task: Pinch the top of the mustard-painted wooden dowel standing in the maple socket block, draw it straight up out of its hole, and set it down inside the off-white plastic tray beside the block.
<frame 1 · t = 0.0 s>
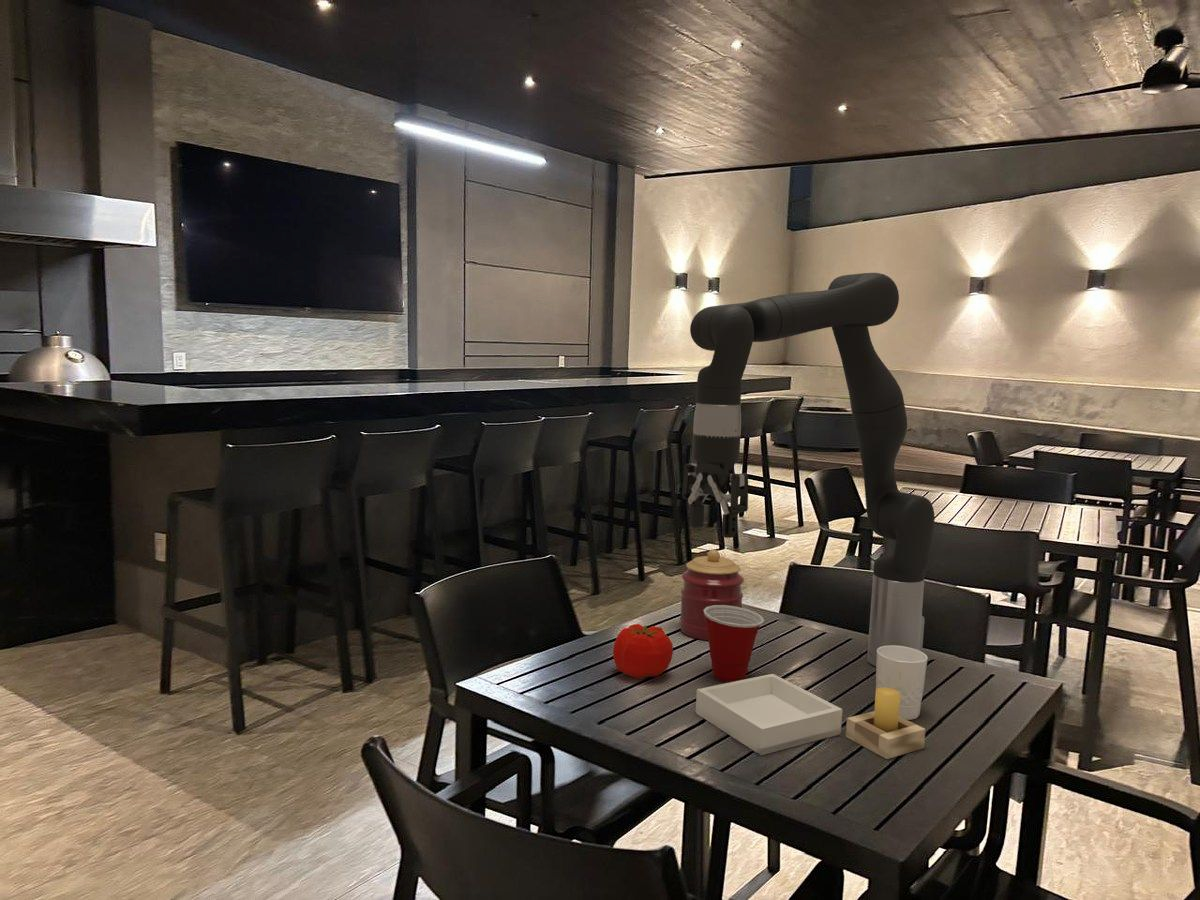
hand: (712, 531, 134), 29 cm above the table, tool pointing down, fingers open, 8 cm apart
plastic cup: (730, 677, 150), on the table
socket block: (884, 742, 126), on the table
canister: (710, 632, 175), on the table
dowel: (886, 717, 125), in the socket block
tray: (766, 723, 131), on the table
white cup: (897, 712, 137), on the table
tomato: (641, 675, 150), on the table
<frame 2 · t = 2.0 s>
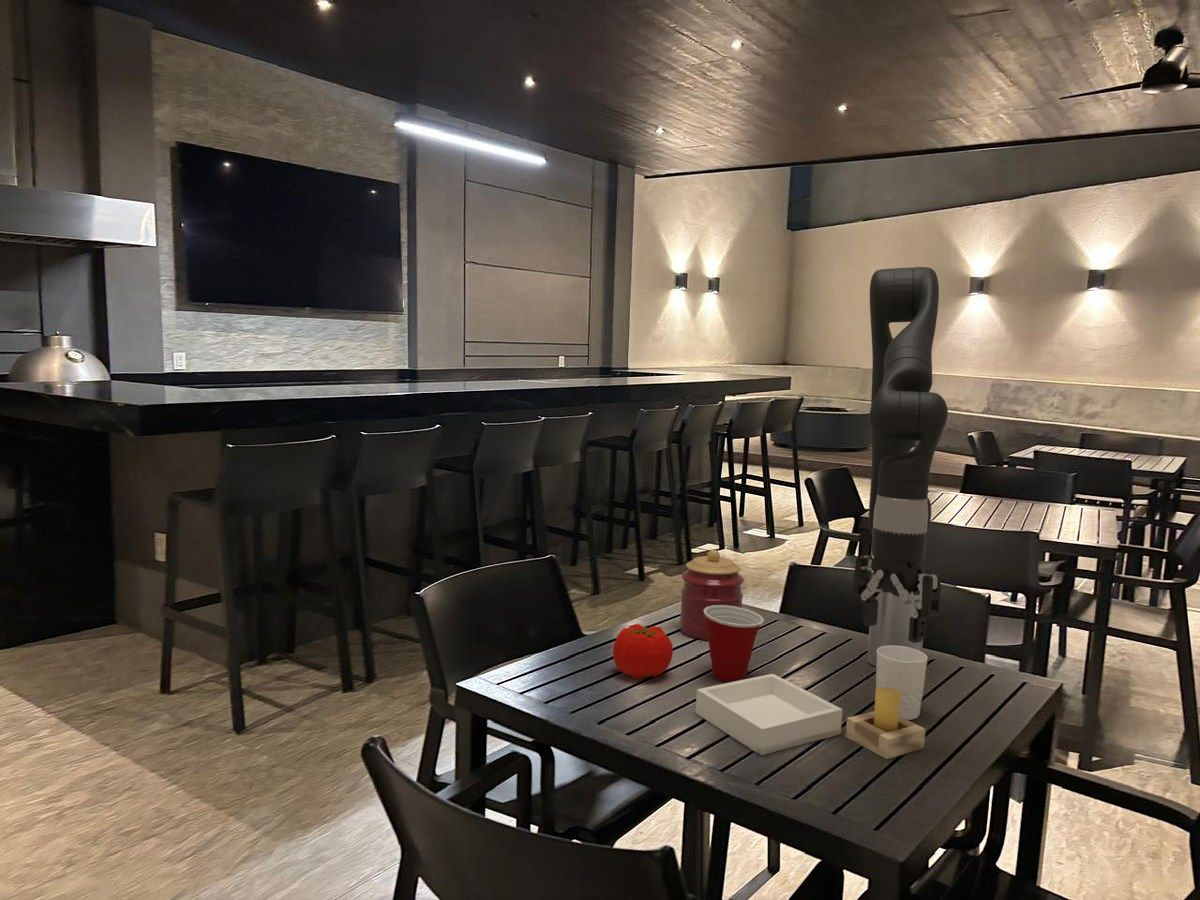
hand: (891, 633, 124), 17 cm above the table, tool pointing down, fingers open, 8 cm apart
nothing on the table moved.
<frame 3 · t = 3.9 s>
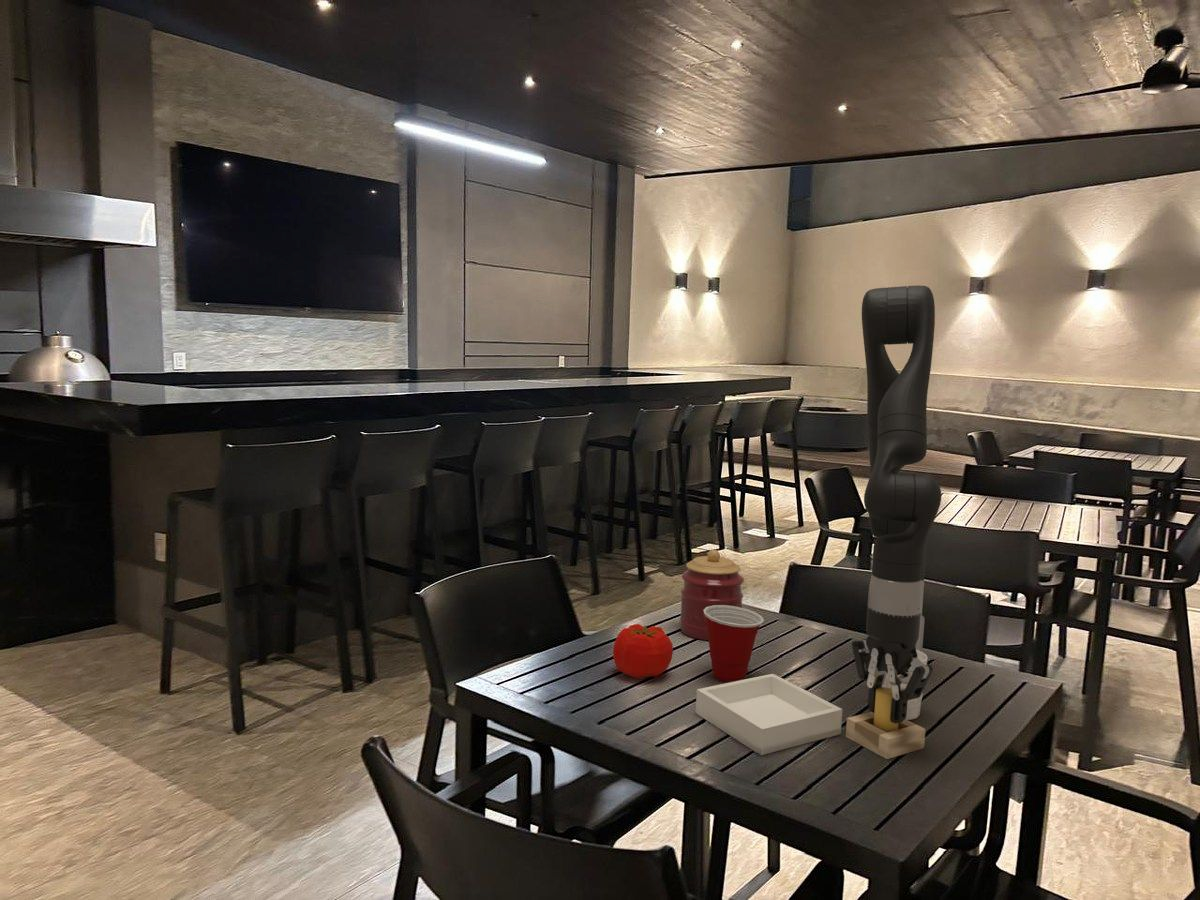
hand: (886, 716, 125), 4 cm above the table, tool pointing down, fingers closed on dowel, 3 cm apart
dowel: (886, 717, 125), in the socket block, touching gripper
everything else where it was.
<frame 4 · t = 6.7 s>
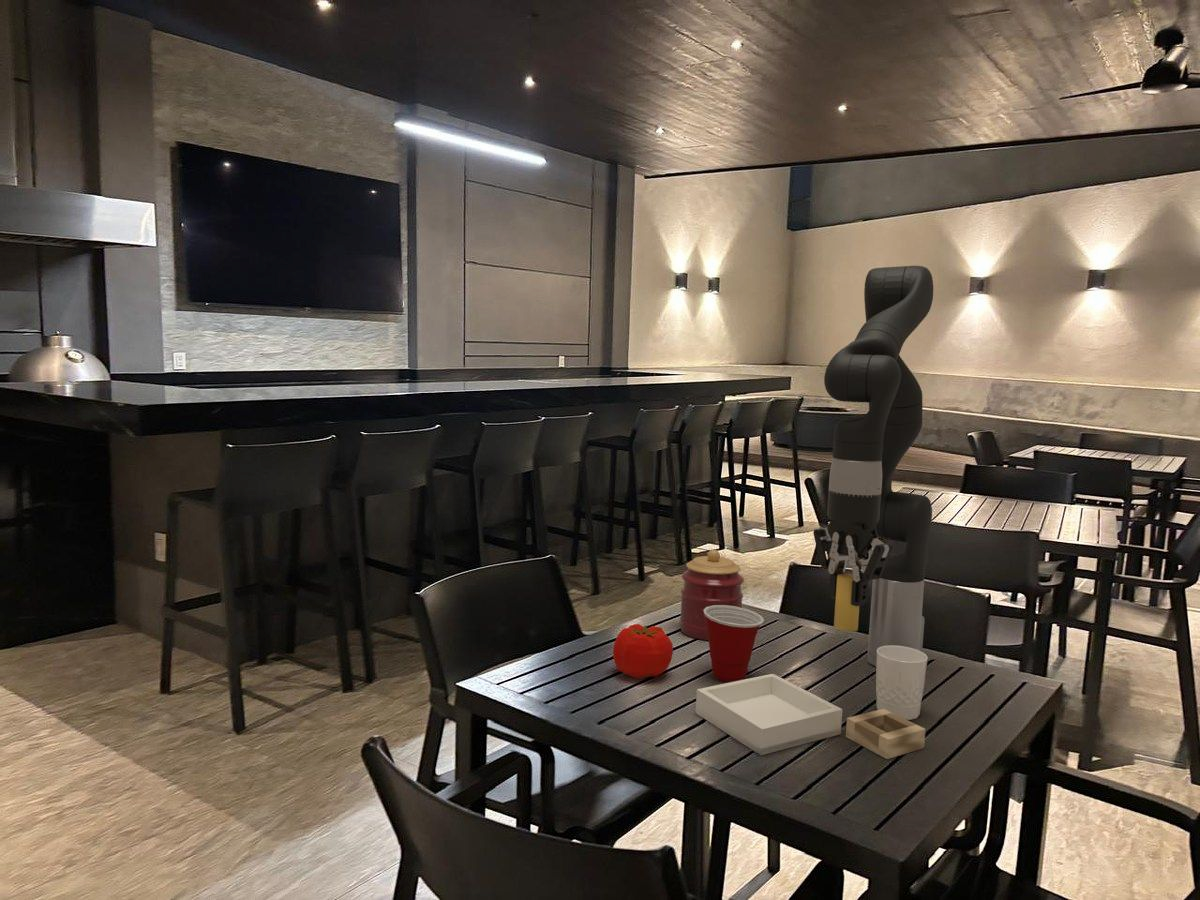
hand: (847, 600, 125), 21 cm above the table, tool pointing down, fingers closed on dowel, 3 cm apart
dowel: (847, 602, 125), point 21 cm above the table, touching gripper
everything else where it was.
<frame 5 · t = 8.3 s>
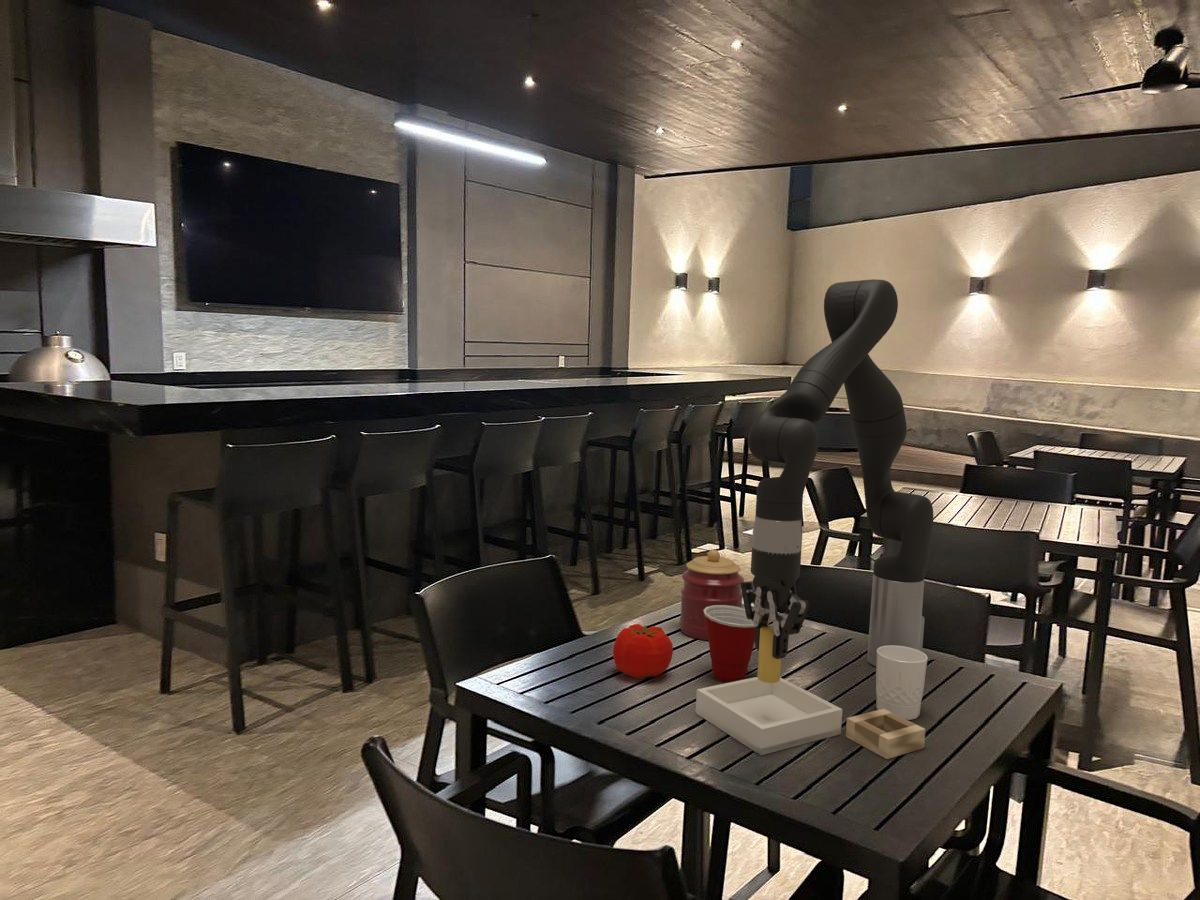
hand: (770, 653, 130), 12 cm above the table, tool pointing down, fingers closed on dowel, 3 cm apart
dowel: (770, 654, 130), point 11 cm above the table, touching gripper
everything else where it was.
when the fingers open (6 cm above the table, at t = 9.8 s): dowel stays where it is, resting on tray.
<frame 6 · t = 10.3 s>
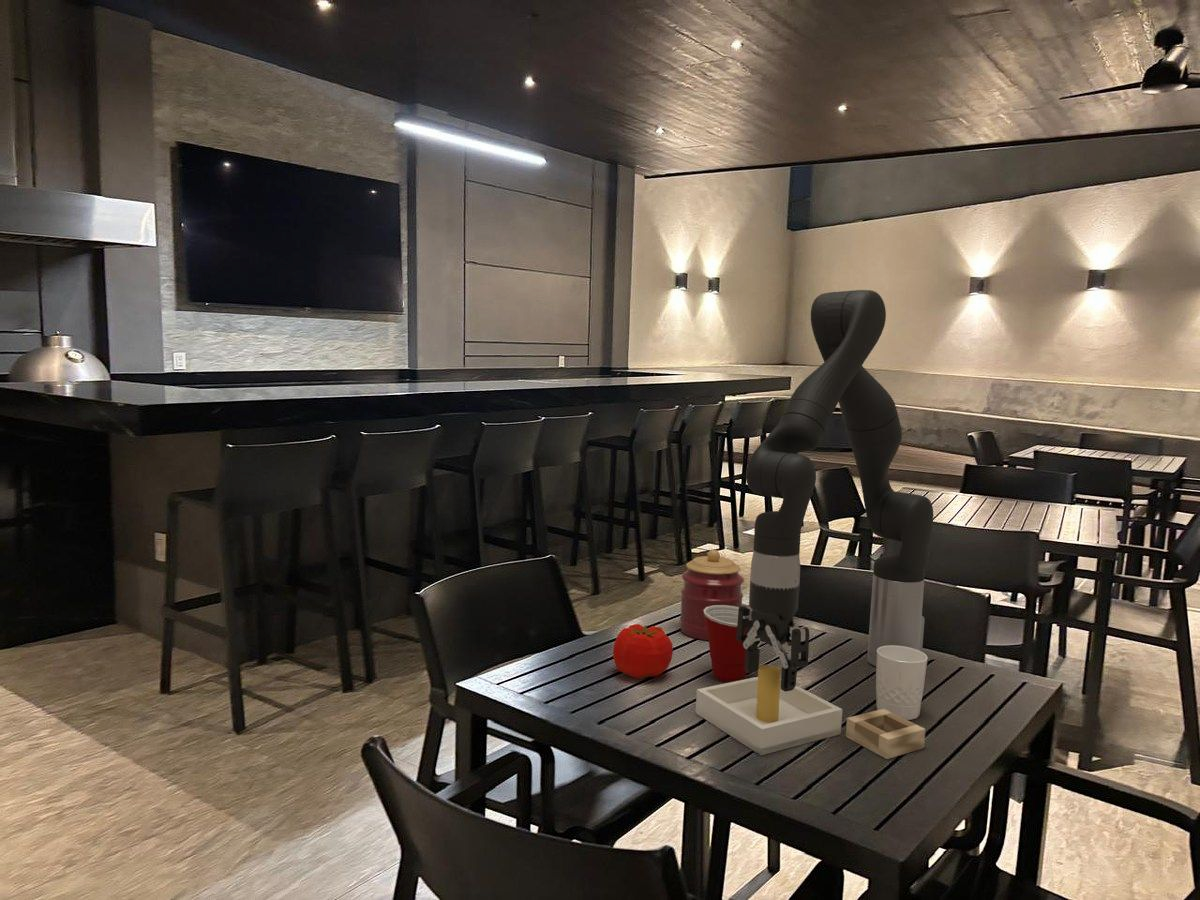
hand: (769, 680, 130), 7 cm above the table, tool pointing down, fingers open, 8 cm apart
dowel: (768, 693, 130), in the tray, point 5 cm above the table
everything else where it was.
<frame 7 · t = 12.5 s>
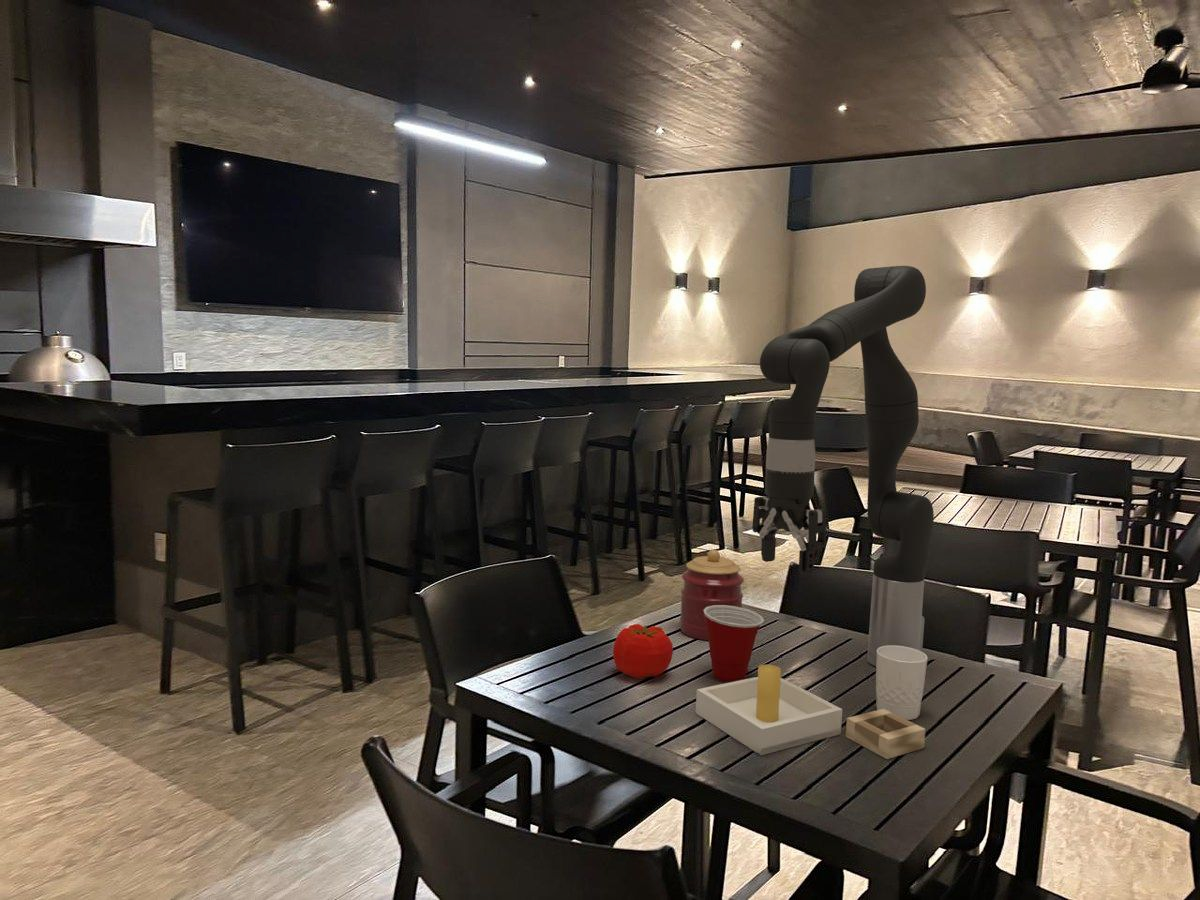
hand: (786, 566, 132), 24 cm above the table, tool pointing down, fingers open, 8 cm apart
nothing on the table moved.
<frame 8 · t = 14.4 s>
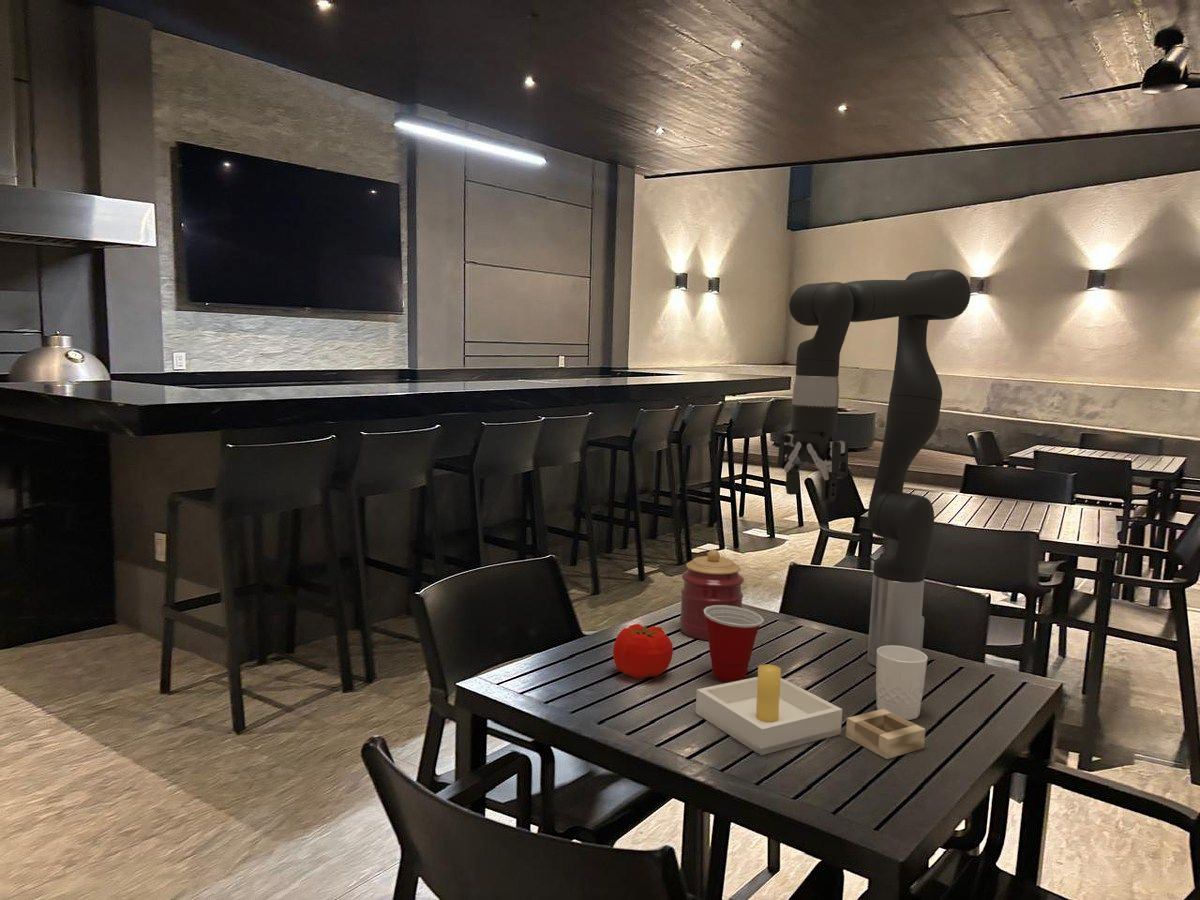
hand: (809, 498, 141), 34 cm above the table, tool pointing down, fingers open, 8 cm apart
nothing on the table moved.
at the end: dowel inside the target area on the tray (0.1 cm from its centre), point 5.0 cm above the tray's base; the gripper is holding nothing; dowel moved 17.7 cm from its start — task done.
